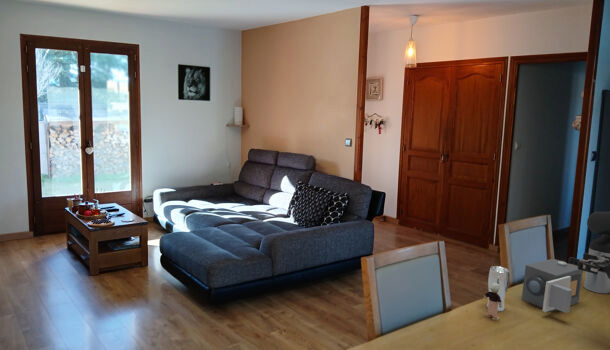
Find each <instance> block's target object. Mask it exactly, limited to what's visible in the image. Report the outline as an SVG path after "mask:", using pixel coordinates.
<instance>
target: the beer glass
mask: <svg viewBox="0 0 610 350" xmlns="http://www.w3.org/2000/svg"><path fill="white" fill-rule="evenodd" d="M493 283H498V284H499V286H500V287H499V291H498V292H497V294H498V295H499V296H500V299H501V301H502V302H501V303H502V307H501V308H500V307H499V304H498V309H497V312H503V311H505V299H506V295H507V292H508V289H509V285H510V284H509V283H510V269H509V268H506V267H503V266H499V265H494V266H493V265H492V266H491V267H490V268H489V273H488V281H487V285H488V286H487V287H488V292H492V291H491V289H489V287H490V285H491V284H493ZM488 304H489V299H488V301H487V303H486V308H488Z"/></svg>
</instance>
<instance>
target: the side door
mask: <svg viewBox="0 0 610 350" xmlns="http://www.w3.org/2000/svg"><path fill="white" fill-rule="evenodd" d="M570 281H571V276H566V277H562V278H559V279H555V280H551V281H548V282H546V287H545V295H544V303H543V308H542V312H543V313H547V312H551V311H550V310H553V309H557V310H556V311H560V312H563V313H569V312H570V309H571V305H570V303H571V296H572V290H571V289H570Z"/></svg>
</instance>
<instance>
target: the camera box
mask: <svg viewBox="0 0 610 350" xmlns="http://www.w3.org/2000/svg"><path fill="white" fill-rule="evenodd" d="M524 269H525V270H524V277H523V284H522V285H523V286H522V292H521V293H522V294H521V300H522V301H524V302H528V303H530V304H533V306H536V305H537V307H539V308H541V309H543V303H544V295H545V287H546V282H548V281H551V280H555V279H559V278H562V277H566V276H571V281H570V289H571V290H572V296H571V303H570V306H573V305H576V304H578V303H579V301H580V295H581V294H580V293H581V288H582V287H581V286H582V279H583V272H584V271H583V270H579V269H578V266H576V265H572V264H569V263H568V262H567V261H566V262H565V261H564V260H559V259H555V258H550V259H545V260H542V261H538V262H532V263H529V264H525V268H524ZM555 311H558V310H557V309H553V310H550V311H549V312H551V313H552V312H555Z"/></svg>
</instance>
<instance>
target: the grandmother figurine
mask: <svg viewBox="0 0 610 350" xmlns="http://www.w3.org/2000/svg"><path fill="white" fill-rule="evenodd" d="M499 287H500V286H499V284H498V283H493V284H491V285H490V287H489V288H488V290H489V289H491V291H492V292H489V291H487V292H485V293H484V296H483V299H484V300H487V298H488V300H489V304H488V307H487V314H486V315H485V316H486V317H487V318H491V320H493V321H499V320H500V317H499V316H498V311H497V309H498V304H499V307H500V308H501V307H502V303H501V302H502V301H501V299H500V296H499V295H498V294H497V292H498V291H499Z"/></svg>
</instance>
